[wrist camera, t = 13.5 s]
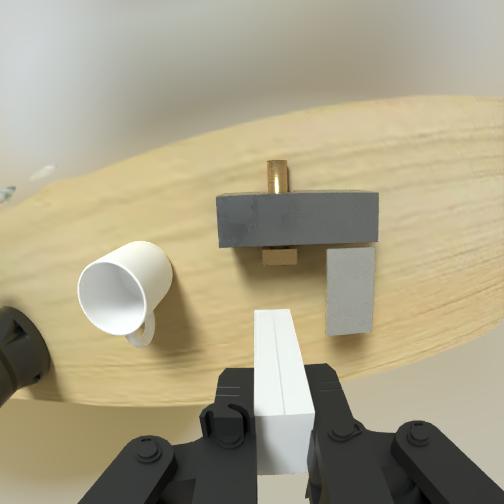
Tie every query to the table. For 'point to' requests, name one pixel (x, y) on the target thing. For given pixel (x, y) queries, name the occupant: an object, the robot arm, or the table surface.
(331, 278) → the tab
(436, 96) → the table surface
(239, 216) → the block
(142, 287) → the mug
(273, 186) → the lynch pin
